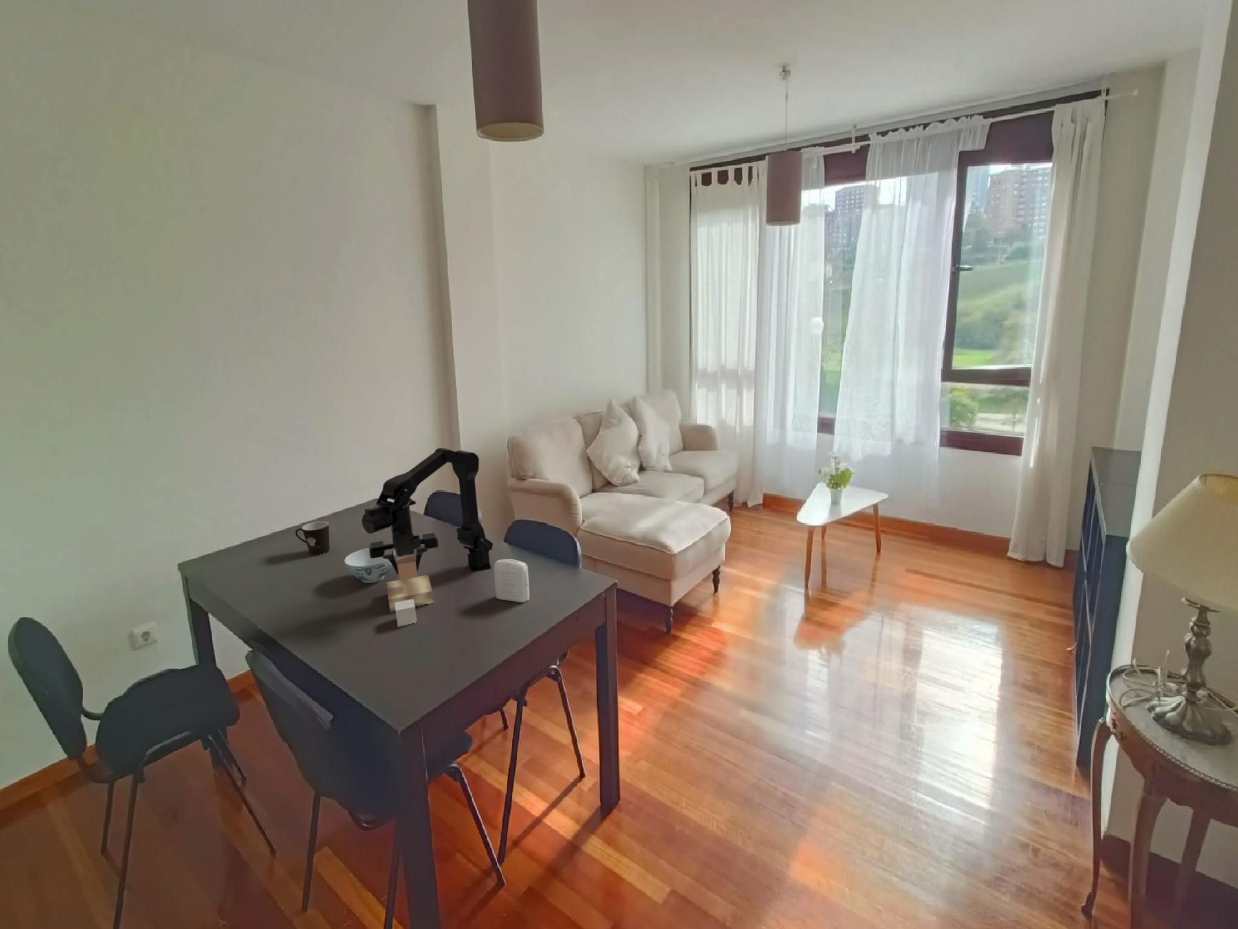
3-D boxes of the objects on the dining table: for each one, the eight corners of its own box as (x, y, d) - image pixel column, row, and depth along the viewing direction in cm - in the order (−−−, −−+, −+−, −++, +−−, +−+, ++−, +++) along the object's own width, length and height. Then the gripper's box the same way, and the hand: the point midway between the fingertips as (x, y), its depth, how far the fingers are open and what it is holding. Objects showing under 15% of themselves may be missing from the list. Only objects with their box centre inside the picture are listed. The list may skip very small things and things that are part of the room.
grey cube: (415, 614, 174) (413, 598, 172) (417, 623, 169) (414, 606, 168) (396, 618, 172) (394, 602, 170) (397, 627, 167) (395, 610, 166)
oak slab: (429, 586, 190) (427, 574, 189) (433, 603, 179) (432, 591, 178) (388, 594, 186) (386, 582, 185) (390, 612, 175) (388, 599, 174)
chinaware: (385, 564, 207) (382, 543, 205) (406, 577, 197) (403, 555, 195) (340, 579, 197) (336, 556, 195) (359, 593, 187) (355, 570, 185)
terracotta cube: (416, 570, 184) (414, 555, 182) (417, 577, 179) (415, 561, 178) (398, 573, 182) (396, 558, 181) (399, 580, 178) (397, 564, 176)
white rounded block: (532, 597, 182) (529, 558, 178) (525, 604, 178) (522, 564, 174) (501, 593, 185) (497, 555, 181) (494, 599, 181) (490, 561, 178)
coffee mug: (338, 550, 220) (333, 523, 218) (315, 558, 213) (310, 531, 211) (319, 543, 226) (314, 518, 224) (296, 552, 219) (291, 525, 217)
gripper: (366, 537, 166) (374, 590, 170) (437, 526, 172) (443, 577, 177) (366, 524, 176) (373, 574, 180) (433, 514, 182) (438, 562, 187)
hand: (407, 572), depth 180 cm, fingers closed on terracotta cube, 5 cm apart
